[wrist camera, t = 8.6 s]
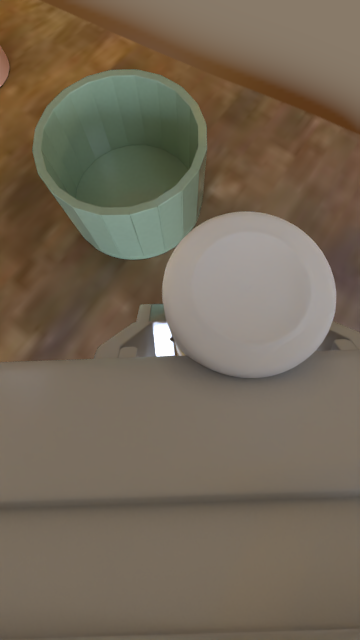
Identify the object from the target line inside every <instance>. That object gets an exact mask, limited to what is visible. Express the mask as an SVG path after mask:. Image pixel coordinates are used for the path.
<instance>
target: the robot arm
mask: <svg viewBox="0 0 360 640" xmlns="http://www.w3.org/2000/svg"><path fill="white" fill-rule="evenodd" d="M172 355H175V343H174V339H173V337H172V335H171V332H170V330H169V327H168V324H167V321H166V317H165V312H164V306H163V304H141V305H140V307H139V312H138V316H137V321H136V323H132V324H131V325H129V326H128V327H126V328H125V329H123V330H122V331H121V332H119V333H118V334H116V335H115V336H113V337H112V338H110V339H109V340H108V341H106V342H105V343H103V344H102V345H100V346H99V347H98V348H97V351H96V353H95V356H94V359H75V360H46V361H18V362H0V640H360V332H357V331H355V330H353V329H350V328H348V327H345V326H343V325H341V324H338V323H336V322H334V321H332V324H331V327H330V329H329V332H328V333H327V335H326V337H325V339H324V340H323V342H322V344H321V345H320V346H319V347H318V348H317V350H316V351H315V352H314V353H313V354H312V355H311V356H310V357H308V358H307V359H306V360H305V361H303V362H302V363H300V364H299V365H297V366H295V367H294V368H292V369H290V370H288V371H285V372H283V373H280V374H277V375H273V376H269V377H264V378H240V377H233V376H229V375H225V374H221V373H218V372H216V371H213V370H211V369H209V368H207V367H204V366H203V365H201V364H199V363H197V362H195V361H194V360H193V359H191V358H190V357H188V356H172ZM156 356H159V357H156Z"/></svg>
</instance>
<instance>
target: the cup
mask: <svg viewBox="0 0 360 640" xmlns="http://www.w3.org/2000/svg"><path fill="white" fill-rule="evenodd" d="M32 151H33V156H34V160H35V164H36V168H37V172H38V175H39V176H40V177H41V179H42V180H43V182H44V183H45V184H46V186H47V187H48V189H49V190H50V191H51V193H52V194H53V196H54V197H55V198H56V200H57V201H58V203H59V204H60V205H61V207H62V208H63V210H64V211H65V212H66V214H67V215H68V217H69V218H70V219H71V221H72V222H73V223H74V225H75V226H76V228H77V229H78V230H79V232H80V233H81V235H82V236H83V237H84V238H85V240H87V241H88V242H89V243H90V244H91V245H92V246H93V247H95V248H96V249H97V250H99V251H101V252H103V253H105V254H107V255H110V256H113V257H117V258H121V259H130V260H137V259H146V258H151V257H155V256H158V255H160V254H163V253H165V252H167V251H169V250H171V249H173V248H174V247H175V246H177V245H178V244H179V243H180V242H181V240H182V239H183V238H184V237H185V236H186V235H187V234H188V233H189V232H191V231H192V229H193V227H194V226H195V224H196V222H197V219H198V217H199V214H200V210H201V205H202V199H203V188H204V177H205V166H206V155H207V125H206V122H205V120H204V118H203V115H202V113H201V110H200V108H199V106H198V104H197V102H196V101H195V100H194V99H193V98H192V97H191V96H190V95H189V94H188V93H187V92H186V91H185V90H184V88H183V87H181V86H180V85H178V84H176V83H174V82H173V81H171V80H169V79H167V78H165V77H164V76H162V75H159V74H154V73H150V72H146V71H141V70H136V69H127V70H108V71H105V72H101V73H97V74H94V75H90V76H87V77H85V78H83V79H81V80H79V81H78V82H76V83H74V84H72V85H70V86H69V87H67V88H65V89H64V90H62V91H61V92H60V93H59V94H58V95H57V96H56V97H55V98H54V99H53V100H52V101H51V102H50V103H49V104H48V105H47V107H46V108H45V110H44V112H43V114H42V116H41V118H40V120H39V122H38V124H37V126H36V128H35V134H34V141H33V148H32Z"/></svg>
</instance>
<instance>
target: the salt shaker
mask: <svg viewBox="0 0 360 640" xmlns="http://www.w3.org/2000/svg"><path fill="white" fill-rule="evenodd" d="M9 68H10V67H9V62H8V58H7V57H6V55H5V53H4V51H3V49H2V48H1V46H0V87H1V86H2V85H3V83H4V82H5V80H6V78H7V77H8V73H9Z"/></svg>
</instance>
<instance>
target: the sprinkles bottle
mask: <svg viewBox="0 0 360 640" xmlns="http://www.w3.org/2000/svg"><path fill="white" fill-rule="evenodd" d="M162 300H163V306H164V312H165V317H166V321H167V324H168V327H169V330H170V332H171V335H172V337H173V339H174V340H175V344H176V351H177V355H178V356H188V357H190V358H191V359H193V360H194V361H195V362H197V363H199V364H201V365H203V366H204V367H207V368H209V369H211V370H213V371H216V372H218V373H221V374H225V375H229V376H233V377H240V378H264V377H269V376H273V375H277V374H280V373H283V372H285V371H288V370H290V369H292V368H294V367H295V366H297V365H299V364H300V363H302V362H303V361H305V360H306V359H307V358H308V357H310V356H311V355H312V354H313V353H314V352H315V351H316V350H317V348H318V347H319V346H320V345H321V344H322V342H323V340H324V339H325V337H326V335H327V333H328V332H329V329H330V327H331V324H332V321H333V318H334V314H335V308H336V287H335V282H334V277H333V274H332V271H331V268H330V266H329V263H328V261H327V259H326V258H325V256H324V254H323V252H322V251H321V250H320V248H319V247H318V246H317V244H316V243H315V242H314V241H313V240H312V239H311V238H310V237H309V236H308V235H307V234H306V233H305V232H303V231H302V230H301V229H299V228H298V227H296V226H295V225H293V224H291V223H289V222H287V221H285V220H283V219H281V218H278V217H276V216H273V215H269V214H265V213H259V212H233V213H227V214H223V215H220V216H216V217H214V218H211V219H209V220H207V221H205V222H203V223H202V224H200V225H199V226H197V227H196V228H194V229H193V230H192V231H191V232H189V233H188V234H187V235H186V236H185V237H184V238H183V239H182V240H181V242H180V243H179V244H178V245H177V247H176V248H175V250H174V251H173V253H172V255H171V257H170V259H169V261H168V263H167V266H166V269H165V273H164V278H163V284H162Z"/></svg>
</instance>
